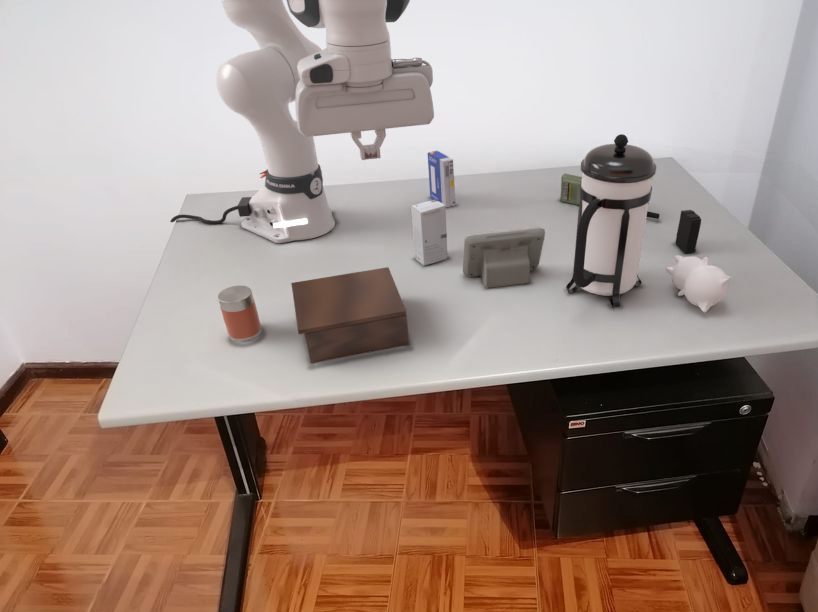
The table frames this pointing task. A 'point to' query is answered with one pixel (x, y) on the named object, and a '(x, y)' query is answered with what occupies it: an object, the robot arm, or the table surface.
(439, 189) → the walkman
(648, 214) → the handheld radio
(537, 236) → the digital clock
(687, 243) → the ink cartridge
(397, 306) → the lid
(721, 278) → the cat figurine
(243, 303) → the can
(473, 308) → the table surface
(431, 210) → the cosmetic box
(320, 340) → the chest
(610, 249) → the coffee press
